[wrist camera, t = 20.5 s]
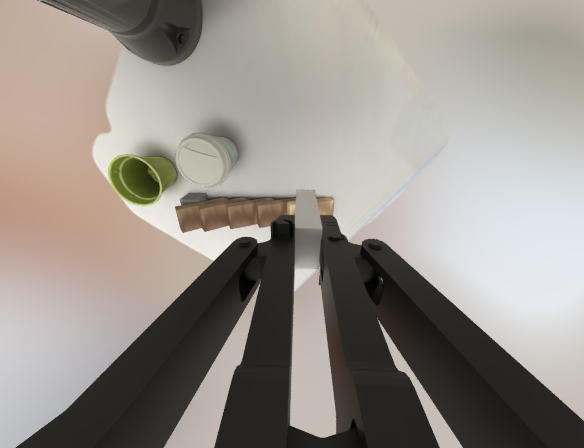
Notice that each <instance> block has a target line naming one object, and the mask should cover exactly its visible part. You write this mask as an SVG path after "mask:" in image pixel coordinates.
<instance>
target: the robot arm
mask: <svg viewBox="0 0 584 448" xmlns="http://www.w3.org/2000/svg"><path fill="white" fill-rule="evenodd" d="M38 1H40V2H43V3H45V4H48V5H50V6H52V7H54V8H57V9H59V10H62V11H64V12H66V13H69V14H71V15H74V16H76V17H78V18H80V19H83V20H85V21H88V22H90V23H92V24H95V25H97V26H99V27H102V28H104V29H107V30H108V31H109V32H111V33H112V34H113V35H114V36H115V37H116V38H117V39H118V40H119V41H120V42H121V43H122V44H123V45H124V46H125V47H126V48H127V49H128V50H129V51H131V52H132V53H134V54H135V55H137V56H139V57H140V58H142V59H145V60H147V61H150V62H153V63H156V64H159V65H174V64H177V63H180V62H182V61H183V60H185V59H186V58H187V57H188V56H189V55H190V54H191V53H192V52H193V50H194V49H195V47H196V45H197V43H198V40H199V37H200V33H201V27H202V9H201V2H200V0H38ZM319 266H320V276H319V285H321V290H322V299H323V307H324V316H325V323H326V333H327V341H328V349H329V358H330V366H331V374H332V383H333V391H334V400H335V408H336V434H335V435H332V436H329V437H326V438H320V437H317V436H314V435H312V434H309V433H307V432H304V431H302V430H299V429H297V428H295V427H292V426H290V399H291V367H292V336H293V304H294V270H295V269H319ZM381 278H382V280H383V281H382V280H381ZM260 281H261V282H260ZM259 284H260V287H259V291H258V295H257V299H256V304H255V308H254V312H253V316H252V321H251V325H250V329H249V333H248V338H247V342H246V346H245V350H244V355H243V359H242V362H241V364H240V365H239V366H237V367H236V369H235V371H234V375H233V378H232V381H231V385H230V389H229V393H228V396H227V400H226V405H225V409H224V412H223V416H222V420H221V424H220V428H219V432H218V435H217V439H216V443H215V447H214V448H440V447H439V445H438V443H437V440H436V438H435V436H434V433H433V431H432V428H431V426H430V424H429V421H428V419H427V417H426V414H425V412H424V409H423V407H422V405H421V402H420V400H419V397H418V395H417V393H416V390H415V388H414V386H413V384H412V382H411V380H410V378H409V377H408V376H407V375H406V373H404V372H401V371H399V370H398V369H397V368H396V366H395V364H394V362H393V359H392V356H391V354H390V351H389V349H388V346H387V343H386V340H385V338H384V335H383V332H382V330H381V327H380V324H379V322H378V320H379V321H380V323H381V324H382V326H383V327H384V329H385V330H386V332H387V333H388V335H389V336H390V338H391V339H392V341H393V343H394V344H395V346H396V347H397V349H398V350H399V351H400V353H401V355H402V356H403V358H404V359H405V361H406V362H407V364H408V365H409V367H410V368H411V370H412V371H413V373H414V374H415V376H416V377H417V379H418V380H419V382H420V383H421V385H422V386H423V388H424V389H425V391H426V392H427V394H428V395H429V397H430V398H431V400H432V401H433V403H434V404H435V406H436V407H437V409H438V410H439V412H440V413H441V415H442V417H443V418H444V420H445V421H446V423H447V424H448V426H449V427H450V428H451V430H452V432H453V433H454V435H455V436H456V438H457V439H458V440H459V442H460V444H461V445H462V447H463V448H584V421H583V420H582V419H581V418H580V417H579V416H578V415H577V414H576V413H574V412H573V411H572V410H571V409H570V408H569V407H568V406H567V405H565V404H564V403H563V402H562V401H561V400H560V399H559V398H558V397H557V396H555V395H554V394H553V393H552V392H551V391H550V390H549V389H548V388H546V387H545V386H544V385H543V384H542V383H541V382H540V381H539V380H537V379H536V378H535V377H534V376H533V375H532V374H531V373H530V372H528V370H526V369H525V368H524V367H523V366H522V365H521V364H520V363H518V362H517V361H516V360H515V359H514V358H513V357H512V356H511V355H510V354H508V353H507V352H506V351H505V350H504V349H503V348H502V347H501V346H499V345H498V344H497V343H496V342H495V341H494V340H493V339H492V338H490V337H489V336H488V335H487V334H486V333H485V332H484V331H483V330H482V329H481V328H479V327H478V326H477V325H476V324H475V323H474V322H473V321H471V319H469V318H468V317H467V316H466V315H465V314H464V313H463V312H462V311H461V310H459V309H458V308H457V307H456V306H455V305H454V304H453V303H452V302H450V301H449V300H448V299H447V298H446V297H445V296H444V295H443V294H442V293H440V292H439V291H438V290H437V289H436V288H435V287H434V286H433V285H431V284H430V283H429V282H428V281H427V280H426V279H425V278H424V277H422V276H421V275H420V274H419V273H418V272H417V271H416V270H415V269H414V268H412V267H411V266H410V265H409V264H408V263H407V262H406V261H404V259H402V258H401V257H400V256H399V255H398V254H397V253H396V252H395V251H393V250H392V249H391V248H390V247H389V246H388V245H387V244H385V243H384V242H382V241H379V240H377V239H376V240H375V239H367V240H364V241H363V242H362V245H357V244H353V243H350V242H348V240H347V238H346V236H345V235H343V234H341V232H340V229H339V226H338V223H337V220H336V218H335V217H333V216H332V215H320V214H319V209H318V204H317V199H316V194H315V190H296V207H295V215H280V216H279V217H278V219H276V220H274V221H272V222H271V240H269V241H267V242H263V243H257V240H256V239H254V238H252V237H241V238H239V239H236V240H235V241H234V242H233V243H232V244H231V245H230V246H229V247H228V248H227V249H226V250H225V251H224V252H223V253H222V254H221V255H220V256H219V257H218V258H217V259H216V260H215V261H214V262H213V263H212V264H211V265H210V266H209V267H208V268H207V269H206V270H205V271H204V272H203V273H202V274H201V275H200V276H199V277H198V278H197V279H196V280H195V281H194V282H193V283H192V284H191V285H190V286H189V287H188V288H187V289H186V290H185V291H184V292H183V293H182V294H181V295H180V296H179V297H178V298H177V299H176V300H175V301H174V302H173V303H172V304H171V305H170V306H169V307H168V308H167V309H166V310H165V311H164V312H163V313H162V314H161V315H160V316H159V317H158V318H157V319H156V320H155V321H154V322H153V323H152V324H151V325H150V326H149V327H148V328H147V329H146V330H145V331H144V332H143V333H142V334H141V335H140V336H139V337H138V338H137V339H136V340H135V341H134V342H133V343H132V344H131V345H130V346H129V347H128V348H127V349H126V350H125V351H124V352H123V353H122V354H121V355H120V356H119V357H118V358H117V359H116V360H115V361H114V362H113V363H112V364H111V365H110V366H109V368H107V370H105V371H104V372H103V373H102V374H101V375H100V376H99V377H98V378H97V379H96V380H95V381H94V382H93V383H92V384H91V385H90V386H89V387H88V388H87V389H86V391H84V392H83V393H82V395H81V396H79V397H78V399H76V400H75V402H74V403H73V404H72V405H71V406H70V407H69V408H68V409H67V410H66V411H64V412H63V413H62V414H60V415H59V416H58V417H56V418H55V419H54V420H52V421H51V422H49V423H48V424H47V425H46V426H44V427H43V428H41V429H40V430H39V431H37V432H36V433H35V434H33V435H32V436H31V437H29V438H28V439H27V440H25V441H24V442H23V443H21V444H20V445H18V446H17V447H16V448H164V446H165V444H166V442H167V441H168V439H169V437H170V436H171V434H172V432H173V431H174V429H175V427H176V426H177V424H178V422H179V420H180V419H181V417H182V415H183V414H184V412H185V410H186V409H187V407H188V405H189V403H190V402H191V400H192V398H193V397H194V395H195V393H196V391H197V390H198V388H199V386H200V385H201V383H202V381H203V380H204V378H205V376H206V374H207V373H208V371H209V369H210V367H211V366H212V364H213V362H214V361H215V359H216V357H217V356H218V354H219V352H220V351H221V349H222V347H223V345H224V344H225V342H226V340H227V339H228V337H229V335H230V333H231V332H232V330H233V328H234V327H235V325H236V323H237V322H238V320H239V318H240V316H241V315H242V313H243V311H244V310H245V308H246V306H247V305H248V303H249V301H250V299H251V298H252V296H253V294H254V293H255V291H256V289H257V287H258V286H259ZM377 318H378V319H377Z"/></svg>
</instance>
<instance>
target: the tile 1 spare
mask: <svg viewBox="0 0 584 448" xmlns="http://www.w3.org/2000/svg"><path fill="white" fill-rule="evenodd" d="M317 204H318V209H319V214H320V215H332V216H333V208H334V200H333V199H332V198H330V197H328V198H318V199H317ZM295 207H296V201H290V202H287V215H295Z"/></svg>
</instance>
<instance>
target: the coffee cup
mask: <svg viewBox="0 0 584 448" xmlns="http://www.w3.org/2000/svg"><path fill="white" fill-rule="evenodd" d="M175 159H176V165H177V168H178V170H179V172H180V173H181V175H182V176H183V177H184V178H185V179H186V180H187V181H189V182H190V183H192V184H194V185H196V186H200V187H214V186H217V185H220V184H221V183H223V182H224V181H225V180H226V179H227V177H228V175H229V173H230V170H231V168H232V167H233V166H234V164H235V163H236V161H237V159H238V149H237V147H236V145H235V144H234V142H233V141H231V140H230V139H228V138H225V137H217V136H211V135H208V134H204V133H194V134H191V135H189V136H187V137H186V138H184V139H183V140H182V141H181V143H180V144H179V146H178V148H177V151H176V156H175Z"/></svg>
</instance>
